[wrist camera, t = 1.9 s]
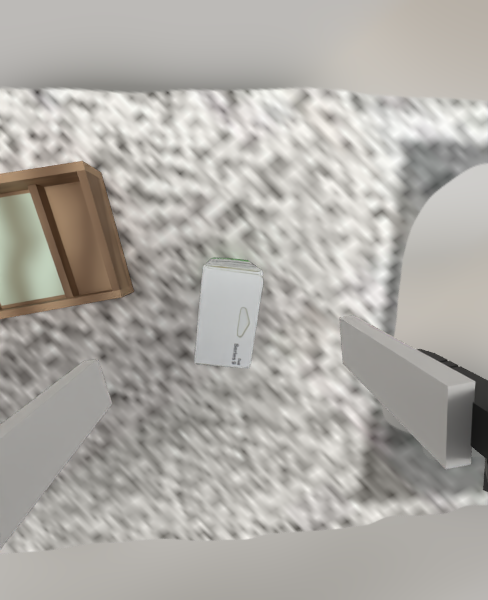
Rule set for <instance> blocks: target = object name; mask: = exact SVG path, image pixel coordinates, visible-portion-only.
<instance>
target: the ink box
mask: <svg viewBox="0 0 488 600" xmlns="http://www.w3.org/2000/svg"><path fill="white" fill-rule="evenodd" d="M262 277H263V271H262V270H261V269H260V268H258V267H257V266H255V265H254V264H252V263H251V262H249V261H248V260H240V259H230V258H211V259H210V260H209V261H208V262H207V263H206V264H205V265H204V266H203V271H202V281H201V291H200V301H199V312H198V323H197V333H196V344H195V358H194V363H195V364H198V365H211V366H224V367H235V368H249V367H250V365H251V361H252V352H253V345H254V339H255V333H256V326H257V320H258V313H259V307H260V300H261V294H262V288H263V279H262Z"/></svg>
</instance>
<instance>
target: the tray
mask: <svg viewBox="0 0 488 600" xmlns="http://www.w3.org/2000/svg"><path fill="white" fill-rule="evenodd" d="M132 292H134V290H133V286H132V283H131V279H130V275H129V272H128V268H127V264H126V261H125V257H124V254H123V250H122V246H121V243H120V239H119V236H118V232H117V228H116V225H115V221H114V217H113V214H112V210H111V207H110V203H109V199H108V196H107V192H106V189H105V185H104V181H103V178H102V174H101V172H99V171H98V170H96V169H95V168H93V167H91V166H90V165H88V164H87V163H85V162H83V161H79V162H73V163H67V164H60V165H54V166H47V167H41V168H35V169H28V170H22V171H16V172H9V173H3V174H0V319H3V318H9V317H14V316H20V315H26V314H31V313H37V312H42V311H48V310H53V309H59V308H64V307H70V306H76V305H81V304H87V303H92V302H98V301H103V300H109V299H115V298H120V297H123V296H126V295H128V294H130V293H132Z"/></svg>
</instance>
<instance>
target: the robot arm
mask: <svg viewBox="0 0 488 600" xmlns="http://www.w3.org/2000/svg"><path fill="white" fill-rule="evenodd" d="M339 321H340V334H341V347H342V360H343V364H344V365H345V366H346V367H347V368H348V369H349V370H350V371H351V372H352V374H353V375H354V376H355V377H356V378H357V379H358V380H359V381H360V382H361V383H362V384H363V385H364V386H365V387H366V388H367V389H368V390H369V391H370V392H371V393H372V394H373V395H374V396H375V397H376V398H377V399H378V400H379V401H380V402H381V403H382V404H383V405H384V406H385V407H386V408H387V409H388V410H389V411H390V412H391V414H392V415H393V416H394V417H395V418H396V419H397V420H398V421H399V422H400V423H401V424H402V425H403V426H404V427H405V428H406V429H407V430H408V431H409V432H410V433H411V434H412V435H413V436H414V437H415V438H416V439H417V440H418V441H419V442H420V443H421V444H422V445H423V446H424V447H425V448H426V449H427V451H428V452H429V453H430V454H431V455H433V456H434V458H435V459H436V460H437V461H438V462H439V463H440V464H441V465H442V466H443V467H444V468H445V469H449V468H455V467H460V466H466V465H471V453H472V447H473V448H474V449H475V450H477V451H478V452H479V453H480V454H481V455H483V456H484V457H485V472H484V486H483V490H485V491H487V492H488V380H486V379H484V378H482V377H480V376H478V375H476V374H474V373H472V372H470V371H468V370H466V369H464V368H462V367H458V365H457V364H454V363H453V362H451V361H447V359H445V358H443V357H441V356H439V355H437V354H435V353H432V352H428V351H425V350H422V349H415V348H413V347H411V346H409V345H407V344H405V343H404V342H402V341H400V340H398V339H396V338H394V337H393V336H391V335H389V334H387V333H385V332H383V331H382V330H380V329H378V328H376V327H374V326H372V325H370V324H369V323H367V322H365V321H363V320H361V319H359V318H358V317H356V316H354V315H351V316H345V317H339ZM111 405H112V401H111V398H110V395H109V392H108V389H107V386H106V382H105V379H104V376H103V373H102V370H101V367H100V364H99V360H98V359H94V360H88V361H83V362H82V363H81V364H79V365H78V366H77V367H75V368H74V369H73V370H71V371H70V372H69V373H67V374H66V375H65V376H64V377H62V378H61V379H60V380H58V381H57V382H56V383H54V384H53V385H52V386H50V387H49V388H48V389H46V390H45V391H44V392H42V393H41V394H40V395H39V396H37V397H36V398H35V399H33V400H32V401H31V402H29V403H28V404H27V405H25V406H24V407H23V408H21V409H20V410H19V411H17V412H16V413H15V414H14V415H12V416H11V417H10V418H8V419H7V420H6V421H4V422H3V423H2V424H0V549H1V548H2V547H3V545H4V544H5V543H6V542H7V540H8V539H9V538H10V536H11V535H12V534H13V532H14V531H15V530H16V529H17V527H18V526H19V525H20V523H21V522H22V521H23V519H24V518H25V517H26V516H27V514H28V513H29V512H30V510H31V509H32V508H33V506H34V505H35V504H36V503H37V501H38V500H39V499H40V497H41V496H42V495H43V493H44V492H45V491H46V490H47V488H48V487H49V486H50V484H51V483H52V482H53V480H54V479H55V478H56V477H57V475H58V474H59V473H60V471H61V470H62V469H63V467H64V466H65V465H66V463H67V462H68V461H69V460H70V458H71V457H72V456H73V454H74V453H75V452H76V450H77V449H78V448H79V447H80V445H81V444H82V443H83V441H84V440H85V439H86V437H87V436H88V435H89V434H90V432H91V431H92V430H93V428H94V427H95V426H96V424H97V423H98V422H99V421H100V419H101V418H102V417H103V415H104V414H105V413H106V411H107V410H108V409H109V408H110V406H111Z"/></svg>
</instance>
